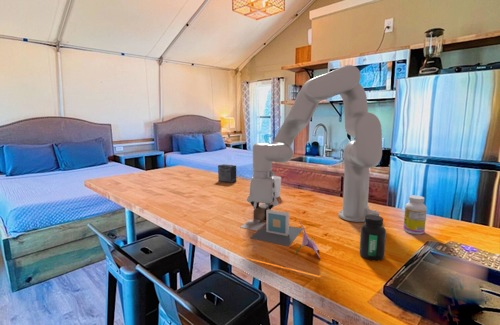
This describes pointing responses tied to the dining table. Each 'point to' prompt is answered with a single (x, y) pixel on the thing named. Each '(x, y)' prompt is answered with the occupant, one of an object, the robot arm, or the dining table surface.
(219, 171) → the small box
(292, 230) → the mat
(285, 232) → the tile
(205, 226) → the dining table surface
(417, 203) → the supplement bottle
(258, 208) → the brown and grey block
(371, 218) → the supplement bottle
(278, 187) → the white cup
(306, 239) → the lily
